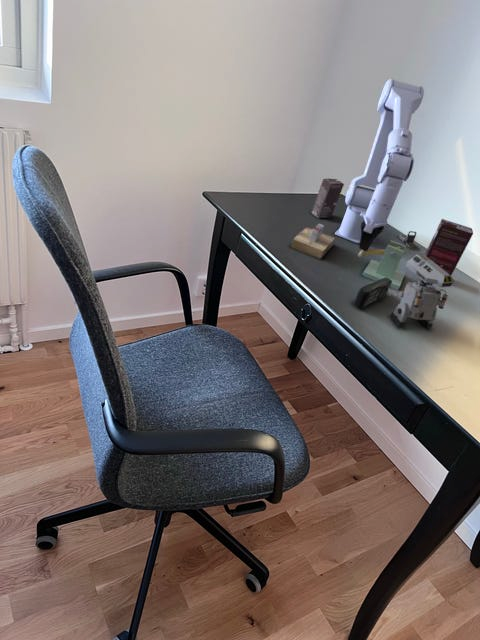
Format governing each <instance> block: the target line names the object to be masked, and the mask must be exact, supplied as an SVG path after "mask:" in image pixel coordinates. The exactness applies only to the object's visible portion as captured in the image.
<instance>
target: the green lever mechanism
mask: <svg viewBox="0 0 480 640" xmlns="http://www.w3.org/2000/svg"><path fill="white" fill-rule="evenodd" d="M393 246H401V249H398V248H396V247H393ZM406 249H407V245H406V244H402V243H400V242H397V241H395V240H392V239H390V241H389V243H388V244H387V246H386V248H385V249H384V250H385V252H384V254H382V257H381V260H380V262H379V261H377V260H374V259H371V260H370V261H369V263H368V265H366V267H365V269H364V271H363V273H362V276H363V277H365V278H368V279H370V280H372V281H376V280H379V279H383V278H389V279H390V280H392V283H391V286H390V287H391V289H394V290H396V291H398V290H399V289H400V287H401V286H402V283H403V280H404V278H405V277H406V276H405V275H406V274H407V273H406V272H404V271H402V270H400V269H397V268H398V266H399V264H400V262H401V259H402V257H403V255H404V253H405V251H406Z"/></svg>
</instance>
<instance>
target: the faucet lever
mask: <svg viewBox="0 0 480 640" xmlns="http://www.w3.org/2000/svg"><path fill="white" fill-rule="evenodd" d="M393 247H396V248H398V249H401V246H393ZM385 250H386V249H368V250H367V251H364V250H362V249H360V251H359V252H358V254H357V256H358V257H359V258H361V257H362V256H363V255H384V252H385Z"/></svg>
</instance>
